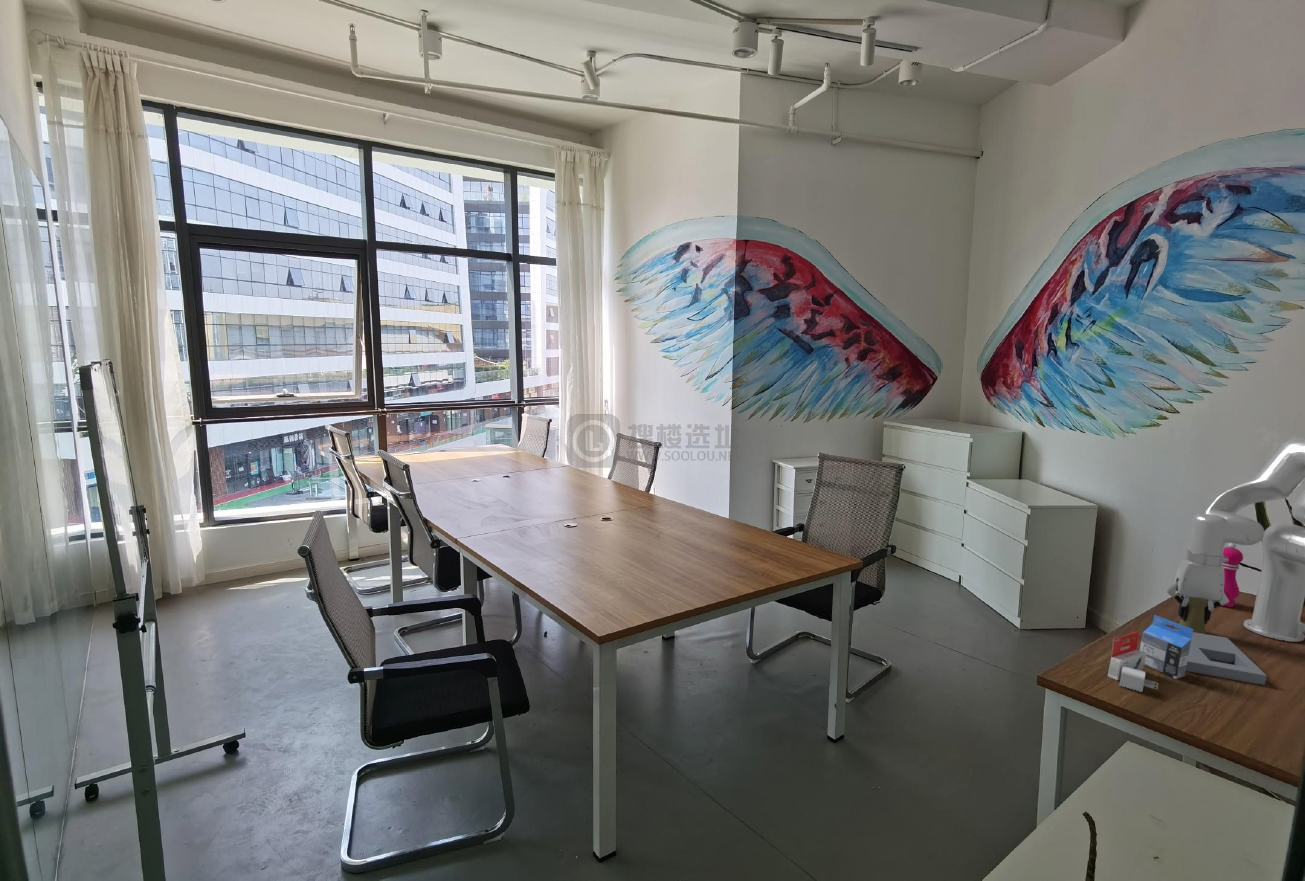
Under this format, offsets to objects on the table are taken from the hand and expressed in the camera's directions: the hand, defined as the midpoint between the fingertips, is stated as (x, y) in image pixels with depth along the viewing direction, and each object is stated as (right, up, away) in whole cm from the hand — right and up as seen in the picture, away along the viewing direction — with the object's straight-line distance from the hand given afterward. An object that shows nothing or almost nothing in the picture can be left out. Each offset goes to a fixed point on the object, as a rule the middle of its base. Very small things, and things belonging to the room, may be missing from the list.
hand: (1193, 619), depth 183 cm
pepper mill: (+27, -1, +22) cm, 35 cm away
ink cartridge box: (-38, -6, -26) cm, 46 cm away
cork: (0, -4, +1) cm, 3 cm away
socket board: (-10, -5, -16) cm, 20 cm away
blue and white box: (-27, -6, -23) cm, 36 cm away
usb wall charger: (-40, -7, -32) cm, 52 cm away
